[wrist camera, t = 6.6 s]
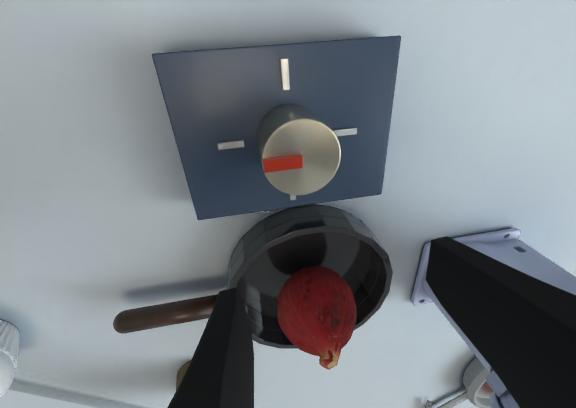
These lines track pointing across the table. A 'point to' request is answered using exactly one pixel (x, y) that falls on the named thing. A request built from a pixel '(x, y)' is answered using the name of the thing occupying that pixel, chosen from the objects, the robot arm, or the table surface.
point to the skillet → (306, 263)
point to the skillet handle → (164, 314)
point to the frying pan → (472, 387)
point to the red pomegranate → (317, 312)
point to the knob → (297, 150)
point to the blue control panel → (265, 97)
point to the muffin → (8, 354)
